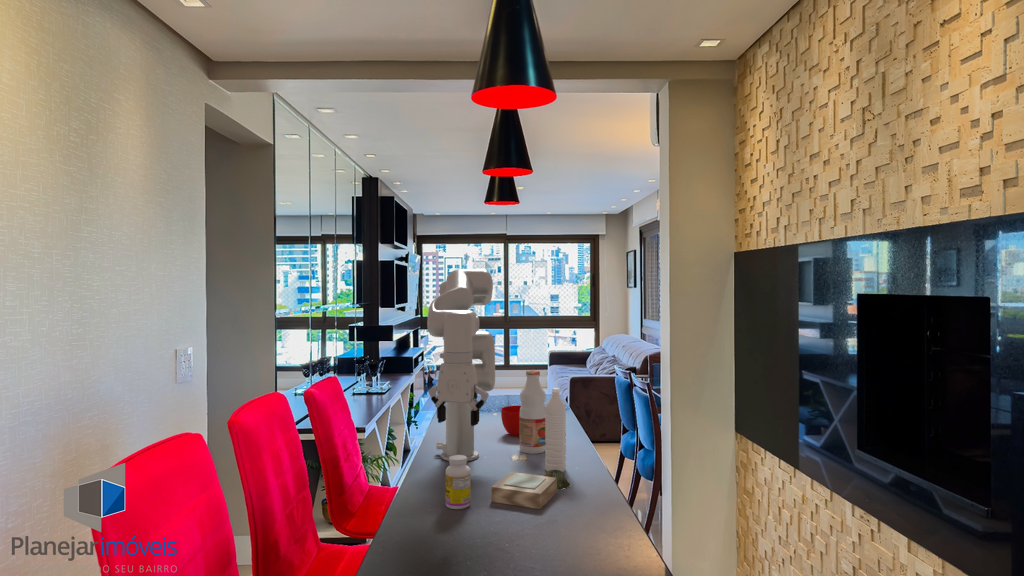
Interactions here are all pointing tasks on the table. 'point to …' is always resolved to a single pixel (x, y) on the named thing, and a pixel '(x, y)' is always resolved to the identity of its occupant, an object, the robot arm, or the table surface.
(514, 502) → the plinth
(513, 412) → the ceramic cup
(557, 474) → the seashell
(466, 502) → the supplement bottle
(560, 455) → the water bottle
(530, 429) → the fruit juice
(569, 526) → the table surface
